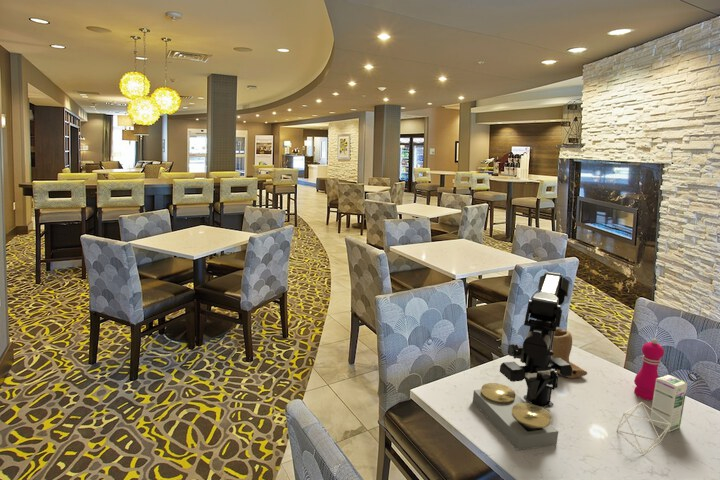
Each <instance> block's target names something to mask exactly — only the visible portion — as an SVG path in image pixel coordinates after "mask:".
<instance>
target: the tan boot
mask: <svg viewBox="0 0 720 480" xmlns="http://www.w3.org/2000/svg"><path fill="white" fill-rule="evenodd" d="M572 348H573V335H572V333H570V331H569V330H567V329H562V328H560V327H557V329H556V332H555V334H554V341H553V348H552V351H553V352H554V354H553V355H552V357H553V358H559V357H560V358H561V359H563V360H564V361H566V362H567V363H569V364H570V365H571V366H572V376H564V377H567V378H571V379H576V378H581V377H584V376H586V375H588V372H587V371H586V370H585V369H583V368H581V367H580V366H579V365H577V364H574V363H572V362H571V361H570V356H571V353H572V352H571V351H572ZM557 374H559V375H561V374H560V370H557Z"/></svg>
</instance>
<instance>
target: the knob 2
mask: <svg viewBox="0 0 720 480" xmlns="http://www.w3.org/2000/svg"><path fill="white" fill-rule="evenodd" d="M512 416H513V417H514V419H515V420H517V421H518V422H519V423H521V426H522V427H523V428H524V429H525V430H526V431H527V432H530V431H537V430H538V428H544V427H547V426H549V425H550V424H551V423H552V415H551V413H550V412H549V410H547V409H546V408H544V407H540V406H538V405H535V404H532V403H530V402H529V403H528V402H526V403H518V404H516V405H514V406H513V408H512Z"/></svg>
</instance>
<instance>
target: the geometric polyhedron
mask: <svg viewBox="0 0 720 480" xmlns="http://www.w3.org/2000/svg"><path fill="white" fill-rule="evenodd" d="M641 405H642V406H643V408H644V411H645V413H646V414H647V417H648V418H646V417H642V416H638V415H633V414H634V413H635V412H636V411H637V409H638V408H639V407H640V406H641ZM646 407H647V408H648V409H650V411H651V410H652V409H651V408H652V407H649V406H648V405H647V404H646V403H644V402H643V401H641V402H639V403H638V404H636V405H635V406H633V407H632V408H630V409H628V410H626V411H625V412H623V414H622V416H621V418H620V421H619V424H618V425H617V428H616V432H618V433H619V434H620V435H621V436H622V437H623V438H624V439H625V440H626V441H627V442H629V444H631V446H632V447H634V448H635V450H637V451H638V453H640V454H641V455H643V456H646V454H648V452H650V451H652V449H653V448H655V447H656V446H658V445H659V444H660V443H661V442H662V441H663V439H664V437H665V436H666V434H667V433H668V432H667V431H668V429H669V428H670V426H671V424H670V423H669V422H668V423H664V422H660V421H656V420H651V419H650V415H649V413H648V410H647V409H646ZM633 409H634V410H633ZM631 410H632V412H631V413H630V414H629V413H628V412H630V411H631ZM652 411H653V410H652ZM653 412H654V411H653ZM655 413H656V412H655ZM656 414H657V413H656ZM657 415H658V414H657ZM658 416H660V415H658ZM630 417H635V418H639V419H643V420H647V421H651V423H650V424H651V425H652V427H653V430H654V431H655V434H656V435H657V438H656V439H655V438H653V437H648V436H647V437H646V436H643V435H639V434H635V433H634V430H633V428H632V427H631V424H630V422H629V418H630ZM660 417H661V416H660ZM623 418H625V420H624V421H623ZM661 418H662V417H661ZM662 419H664V418H662ZM664 420H665V419H664ZM622 421H623V422H622ZM652 421H656V422H660V423H664V424H668V425H669V426H668V427H667V428H666V429H665V431H664V430H663V431H662V433H661V434H660V435H659V433H658V431H657V430H656V426H655V425H653V423H652ZM665 421H666V420H665ZM666 422H667V421H666ZM625 423H627V424H628V426H629V429H630V430H631V432H628V431H624V430H620V428H622V426H623V425H624V424H625ZM623 433H626V434H629V435H632V436H633V437H634V439H635V442H636V443H637V445H638V447H639V448H637V447H636V446H635V445H634V444H633V443H632V442H631V441H630V440H628V438H627V437H625V436H624V435H623ZM636 436H637V437H642V438H645V439H650V440H653V441H654V442H653V443H652V444H651V445H650V446H649V447H648V448H647V449H646V451H644V452H643V450H642V447H641V446H640V443H639V441H638V439H637V437H636ZM661 437H662V438H661Z"/></svg>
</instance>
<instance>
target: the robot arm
mask: <svg viewBox="0 0 720 480" xmlns="http://www.w3.org/2000/svg"><path fill="white" fill-rule="evenodd" d="M537 290H538V292H537V293H536V292H535V293H534V294H532V295H533V296H532V298H531V299H528V304H527V308H526V312H525V318H524V322H523V323H524V324H523V325H524V326H525V327H526V326H527V327H529V331H528V333H527V335H526V337H525V338H524V341H523V344H522V345H519V346H518V343H517V344H516V343H515V344H514V343H510V344H509V343H508V345H507V346H508V347H507V354H508V356H510V357H513V359H515V360H516V359H519V361H520V363H522V364H524V365H520V364H518V363H517V362H516V361H507V362H505V361H504V362H502V363H500V365H499V373H500V374H502V375H503V377H505V378H506V379H508V380H509V381H510V382H513V383H514V382H522V381H525V383H526V390H527V391H526V395H525V394H524V396H523V397H524V399H526V401H528V402H529V403H530V404H535V405H538V406H540V407H542V408H544V407H551V406H554V402H552V401H551V399H552V391H554V390H555V389H558V386H559V385H558V384H559V379H560V378H559V375H560V376H562V377H565V376H572V366H571V365H570V364H569V363H567V362H566V361H564V360H563V359H561V358H560V357H559V358H553V357H552V355H553V354H554V352H553V351H552V348H553V341H554V334H555V332H556V329H557V328H560V327H561V326H560V325H561V321H562V320H561V319H562V315H563V309H562V305H563V304H564V303H565V301H566V298H567V297H568V296H569V291H570V280H568V279H566V278H565V277H564V274H561V273H559V272H552V271H545V272H544V274H543V275H541V276H540V277H539V281H538V286H537ZM557 370H560V374H559V375H558V373H557Z"/></svg>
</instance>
